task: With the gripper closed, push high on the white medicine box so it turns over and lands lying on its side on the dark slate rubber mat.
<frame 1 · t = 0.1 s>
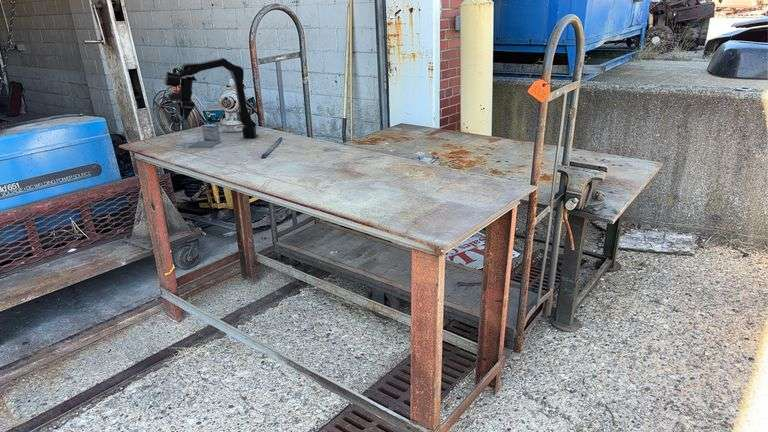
hand: (183, 118, 289), 15 cm above the table, tool pointing down, fingers open, 9 cm apart
slate mat: (204, 144, 298), on the table
medicine box: (212, 140, 306), on the table
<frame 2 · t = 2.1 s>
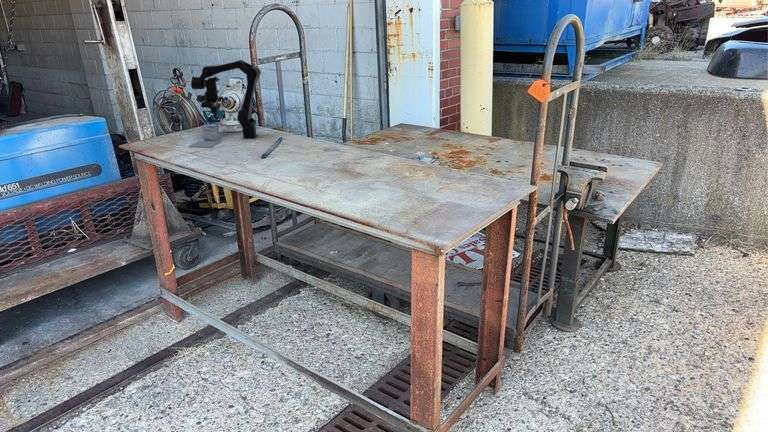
hand: (215, 117, 309), 11 cm above the table, tool pointing down, fingers closed
nothing on the table moved.
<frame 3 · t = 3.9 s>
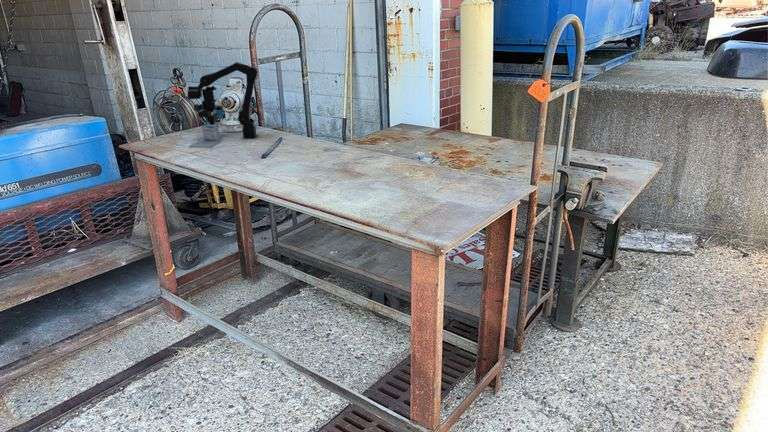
hand: (212, 126, 306), 7 cm above the table, tool pointing down, fingers closed
medicine box: (212, 140, 306), on the table, touching gripper
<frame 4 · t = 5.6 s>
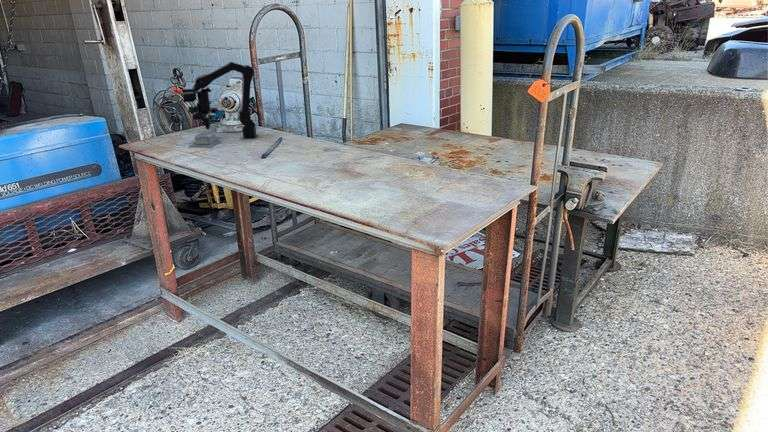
hand: (207, 129, 301), 7 cm above the table, tool pointing down, fingers closed
medicine box: (209, 136, 304), point 3 cm above the table, touching slate mat
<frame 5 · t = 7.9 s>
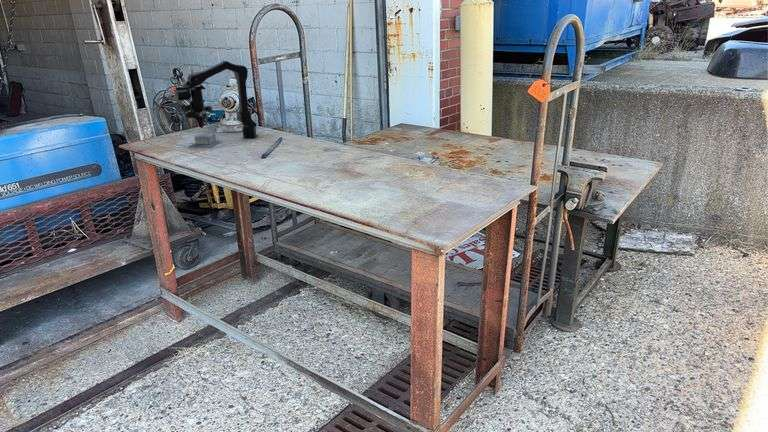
hand: (201, 127, 294), 9 cm above the table, tool pointing down, fingers closed
nothing on the table moved.
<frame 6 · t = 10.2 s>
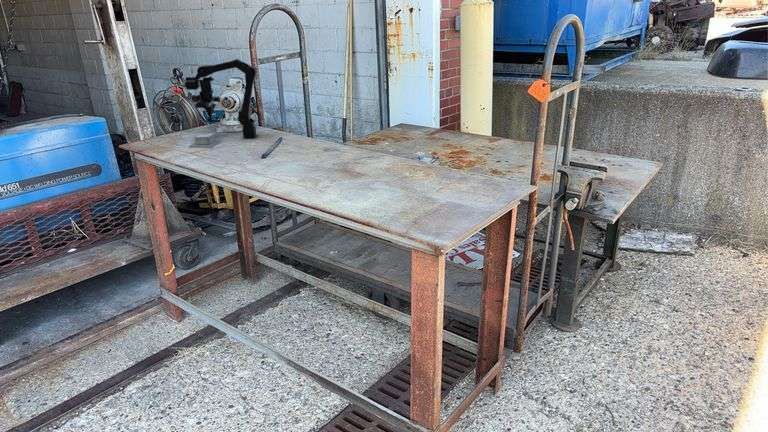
hand: (210, 117, 305), 12 cm above the table, tool pointing down, fingers closed
nothing on the table moved.
at the end: medicine box tilted 90°; medicine box inside the target area on the slate mat (6.0 cm from its centre), point 2.6 cm above the slate mat's base; medicine box moved 3.1 cm from its start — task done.
